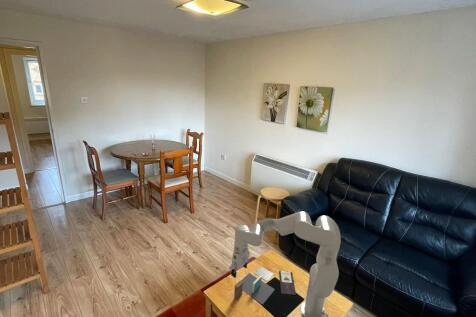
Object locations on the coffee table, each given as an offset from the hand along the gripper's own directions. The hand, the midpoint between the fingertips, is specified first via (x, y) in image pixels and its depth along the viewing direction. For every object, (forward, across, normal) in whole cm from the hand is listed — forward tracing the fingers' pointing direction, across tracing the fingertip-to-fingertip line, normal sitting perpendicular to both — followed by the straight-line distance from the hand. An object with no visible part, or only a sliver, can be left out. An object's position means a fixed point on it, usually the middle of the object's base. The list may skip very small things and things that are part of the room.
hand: (239, 271), depth 137 cm
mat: (+19, +12, -4) cm, 23 cm away
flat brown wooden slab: (+19, 0, 0) cm, 19 cm away
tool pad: (+19, +25, -2) cm, 31 cm away
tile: (+18, +12, -6) cm, 23 cm away
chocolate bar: (+19, +29, -18) cm, 39 cm away
